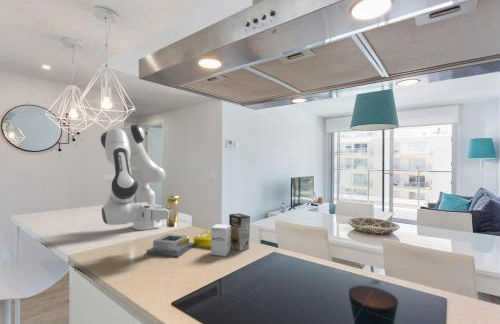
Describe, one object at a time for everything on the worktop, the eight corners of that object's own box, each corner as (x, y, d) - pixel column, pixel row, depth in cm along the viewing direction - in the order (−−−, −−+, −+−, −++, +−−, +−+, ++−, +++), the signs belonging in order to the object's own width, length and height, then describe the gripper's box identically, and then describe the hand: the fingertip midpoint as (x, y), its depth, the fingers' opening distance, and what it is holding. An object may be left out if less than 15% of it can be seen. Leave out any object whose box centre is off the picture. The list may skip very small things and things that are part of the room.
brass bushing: (166, 224, 125) (167, 195, 125) (179, 224, 125) (180, 195, 125) (163, 227, 118) (164, 197, 119) (177, 227, 119) (178, 197, 119)
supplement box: (210, 255, 116) (210, 227, 116) (216, 249, 123) (216, 223, 123) (225, 256, 114) (226, 228, 114) (230, 251, 121) (231, 224, 121)
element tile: (218, 250, 124) (218, 240, 124) (191, 246, 129) (191, 236, 129) (231, 241, 138) (231, 232, 138) (206, 238, 143) (206, 229, 143)
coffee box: (228, 246, 128) (228, 214, 128) (238, 244, 132) (238, 212, 132) (239, 251, 121) (240, 217, 121) (250, 248, 126) (250, 215, 126)
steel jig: (165, 243, 131) (165, 232, 131) (194, 246, 128) (194, 235, 128) (146, 253, 116) (146, 241, 116) (178, 257, 112) (178, 244, 112)
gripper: (139, 215, 124) (168, 212, 131) (147, 223, 107) (180, 220, 114) (139, 202, 124) (168, 200, 131) (147, 208, 107) (180, 206, 114)
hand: (174, 209), depth 122 cm, fingers closed on brass bushing, 5 cm apart
